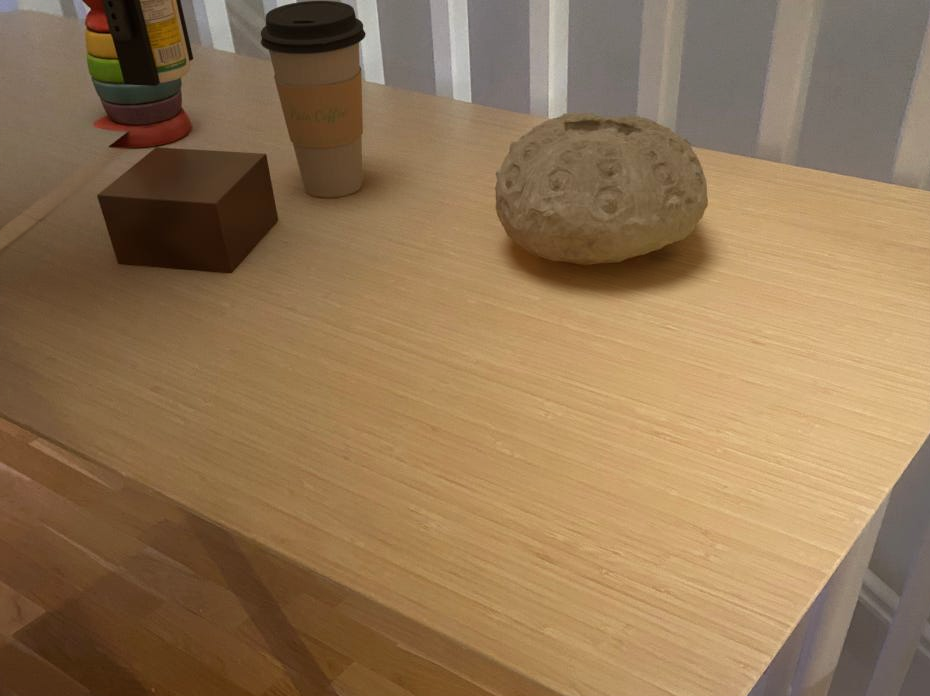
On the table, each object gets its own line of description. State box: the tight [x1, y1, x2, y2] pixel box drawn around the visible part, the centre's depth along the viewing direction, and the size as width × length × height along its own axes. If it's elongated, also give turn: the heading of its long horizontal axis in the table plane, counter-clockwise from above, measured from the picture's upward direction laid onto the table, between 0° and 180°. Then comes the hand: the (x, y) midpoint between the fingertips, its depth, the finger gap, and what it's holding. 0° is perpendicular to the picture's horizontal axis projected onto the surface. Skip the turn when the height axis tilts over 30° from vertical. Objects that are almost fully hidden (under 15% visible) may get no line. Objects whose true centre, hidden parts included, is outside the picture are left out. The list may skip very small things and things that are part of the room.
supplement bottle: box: [140, 0, 191, 83], centre depth 77 cm, size 5×5×10 cm
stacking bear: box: [81, 0, 192, 149], centre depth 104 cm, size 11×10×18 cm
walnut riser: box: [96, 146, 279, 274], centre depth 88 cm, size 11×11×6 cm
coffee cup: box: [260, 0, 366, 198], centre depth 93 cm, size 9×9×15 cm
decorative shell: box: [494, 112, 709, 266], centre depth 83 cm, size 18×18×10 cm
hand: (159, 70), depth 80 cm, fingers closed on supplement bottle, 5 cm apart
